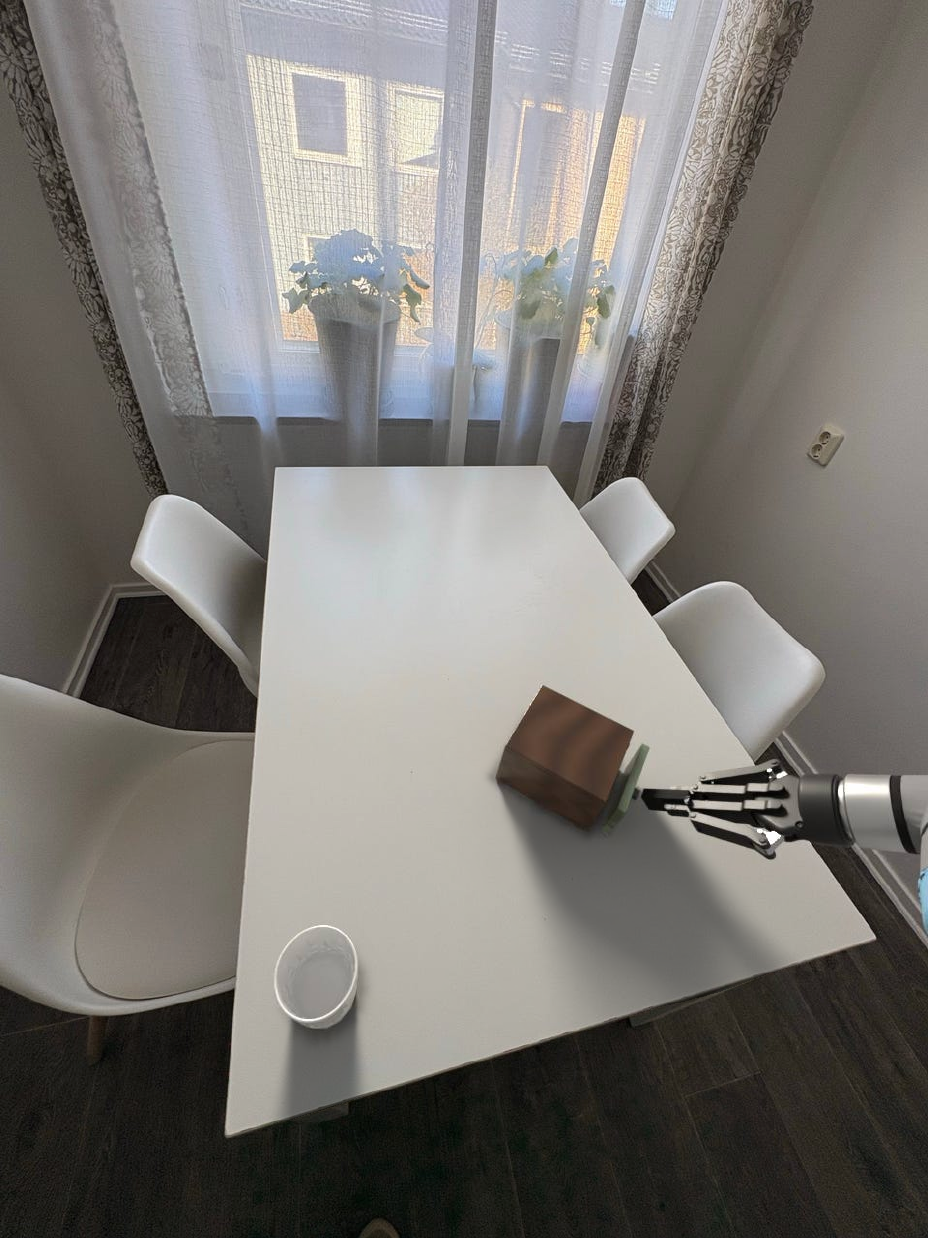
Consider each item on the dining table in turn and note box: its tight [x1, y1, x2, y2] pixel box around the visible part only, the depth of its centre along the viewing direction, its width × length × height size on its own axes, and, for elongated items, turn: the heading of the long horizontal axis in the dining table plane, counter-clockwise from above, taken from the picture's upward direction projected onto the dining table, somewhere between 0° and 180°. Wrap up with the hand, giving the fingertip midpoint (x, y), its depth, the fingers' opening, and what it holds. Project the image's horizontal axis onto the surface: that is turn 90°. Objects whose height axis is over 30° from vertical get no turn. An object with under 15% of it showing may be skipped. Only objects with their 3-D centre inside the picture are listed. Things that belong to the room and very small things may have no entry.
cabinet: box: [495, 684, 635, 832], centre depth 75 cm, size 15×13×9 cm
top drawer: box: [600, 743, 650, 836], centre depth 74 cm, size 15×12×7 cm
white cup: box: [273, 925, 359, 1030], centre depth 53 cm, size 8×8×10 cm
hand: (646, 799), depth 72 cm, fingers closed
